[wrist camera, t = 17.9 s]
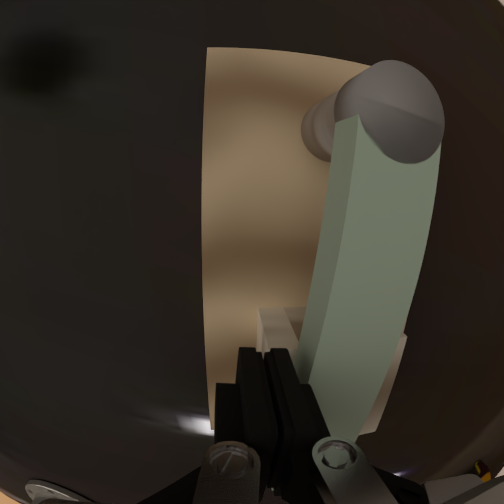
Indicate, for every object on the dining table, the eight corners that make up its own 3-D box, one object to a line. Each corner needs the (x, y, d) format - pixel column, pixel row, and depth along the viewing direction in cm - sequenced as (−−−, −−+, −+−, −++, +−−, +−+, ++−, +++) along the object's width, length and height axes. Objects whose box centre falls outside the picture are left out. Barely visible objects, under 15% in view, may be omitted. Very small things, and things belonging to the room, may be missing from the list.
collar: (352, 390, 18) (375, 431, 14) (254, 400, 17) (262, 448, 13) (371, 302, 16) (407, 336, 12) (258, 308, 15) (269, 350, 12)
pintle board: (370, 399, 20) (402, 451, 15) (211, 414, 19) (211, 480, 13) (412, 86, 15) (475, 67, 9) (208, 58, 13) (203, 4, 8)
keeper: (415, 90, 9) (445, 81, 7) (323, 459, 13) (332, 483, 11) (337, 63, 8) (360, 46, 7) (265, 463, 13) (269, 490, 11)
